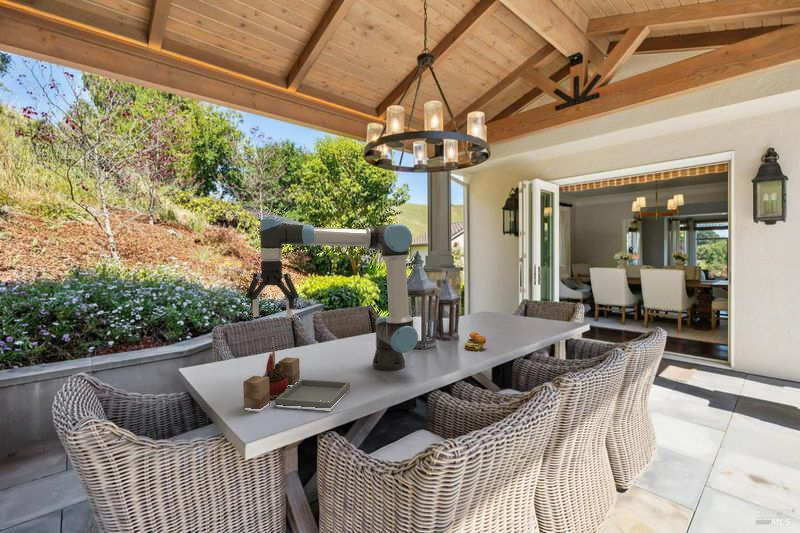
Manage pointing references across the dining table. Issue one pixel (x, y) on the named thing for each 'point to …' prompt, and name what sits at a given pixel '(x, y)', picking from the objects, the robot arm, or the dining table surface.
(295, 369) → the right walnut block
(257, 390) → the left walnut block
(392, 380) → the dining table surface
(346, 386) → the tray
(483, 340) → the cheeseburger
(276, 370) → the cake
